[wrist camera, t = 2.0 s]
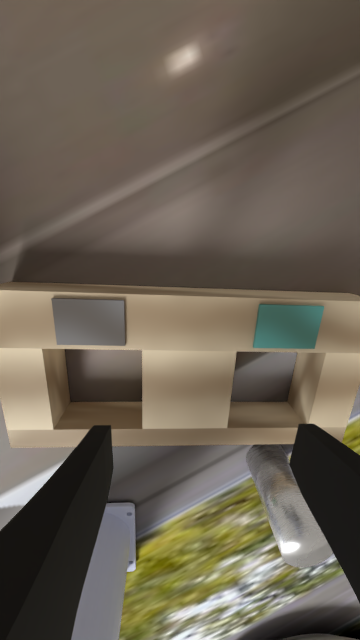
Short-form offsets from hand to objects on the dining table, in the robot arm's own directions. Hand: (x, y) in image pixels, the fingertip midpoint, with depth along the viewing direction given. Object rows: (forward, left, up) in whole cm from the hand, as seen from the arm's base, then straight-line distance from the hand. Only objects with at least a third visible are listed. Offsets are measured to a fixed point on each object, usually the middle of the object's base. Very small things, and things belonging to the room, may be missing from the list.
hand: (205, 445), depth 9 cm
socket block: (-1, 0, -9) cm, 9 cm away
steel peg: (-11, -8, -9) cm, 17 cm away
